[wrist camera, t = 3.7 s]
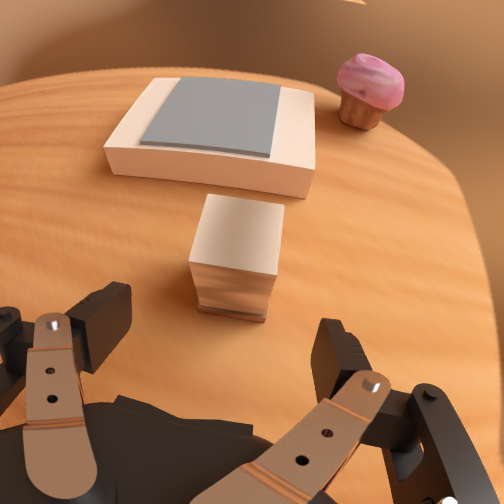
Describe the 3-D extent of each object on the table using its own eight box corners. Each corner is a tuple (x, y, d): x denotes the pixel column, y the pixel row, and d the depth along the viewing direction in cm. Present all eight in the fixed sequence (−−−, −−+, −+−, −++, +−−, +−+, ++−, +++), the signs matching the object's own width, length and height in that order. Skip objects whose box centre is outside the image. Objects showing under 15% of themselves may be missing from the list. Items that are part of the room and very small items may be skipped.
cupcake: (335, 97, 39) (351, 40, 30) (389, 120, 37) (412, 65, 29) (319, 124, 35) (337, 56, 26) (382, 151, 33) (412, 87, 25)
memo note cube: (198, 312, 22) (183, 263, 15) (211, 254, 25) (205, 190, 18) (264, 322, 22) (280, 279, 15) (271, 264, 25) (288, 202, 18)
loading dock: (113, 174, 28) (101, 143, 25) (158, 102, 35) (154, 74, 31) (305, 198, 28) (316, 165, 24) (307, 117, 35) (314, 89, 31)
